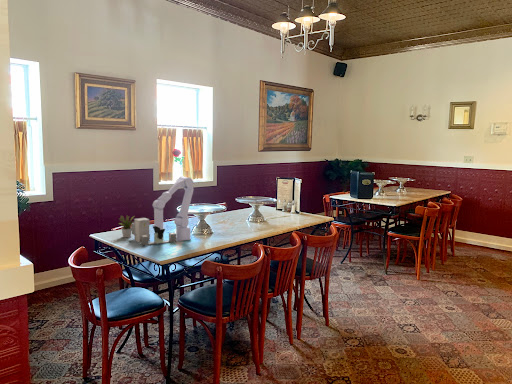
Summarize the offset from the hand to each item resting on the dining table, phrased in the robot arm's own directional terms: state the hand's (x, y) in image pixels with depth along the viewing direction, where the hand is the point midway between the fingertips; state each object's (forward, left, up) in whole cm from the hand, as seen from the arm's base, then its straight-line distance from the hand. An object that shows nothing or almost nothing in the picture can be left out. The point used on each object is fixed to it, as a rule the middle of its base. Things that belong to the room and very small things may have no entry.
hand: (158, 237), depth 260 cm
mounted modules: (0, 0, -4) cm, 4 cm away
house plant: (+17, -27, -4) cm, 32 cm away
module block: (0, 0, -3) cm, 3 cm away
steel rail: (0, 0, -4) cm, 4 cm away
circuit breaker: (+9, -15, -4) cm, 18 cm away
